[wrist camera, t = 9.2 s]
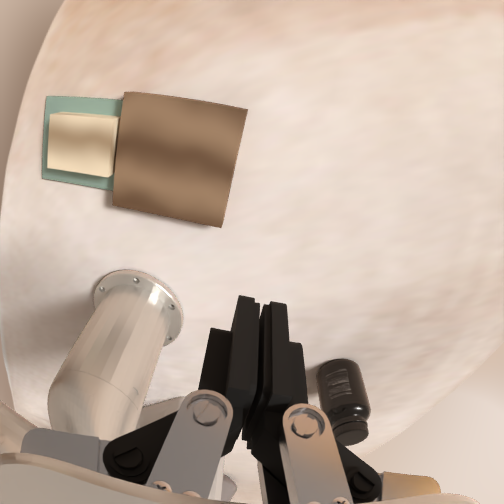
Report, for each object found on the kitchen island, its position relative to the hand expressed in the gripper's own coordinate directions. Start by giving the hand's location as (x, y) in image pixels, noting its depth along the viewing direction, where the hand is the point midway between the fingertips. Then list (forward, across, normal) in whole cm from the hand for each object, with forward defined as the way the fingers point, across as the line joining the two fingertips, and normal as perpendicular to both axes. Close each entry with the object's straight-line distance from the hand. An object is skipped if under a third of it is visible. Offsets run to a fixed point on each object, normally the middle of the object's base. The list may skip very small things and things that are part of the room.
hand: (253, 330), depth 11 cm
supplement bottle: (+23, -18, +26) cm, 40 cm away
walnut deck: (+23, +9, 0) cm, 25 cm away
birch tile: (+23, +19, 0) cm, 30 cm away
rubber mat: (+23, +20, 0) cm, 31 cm away
